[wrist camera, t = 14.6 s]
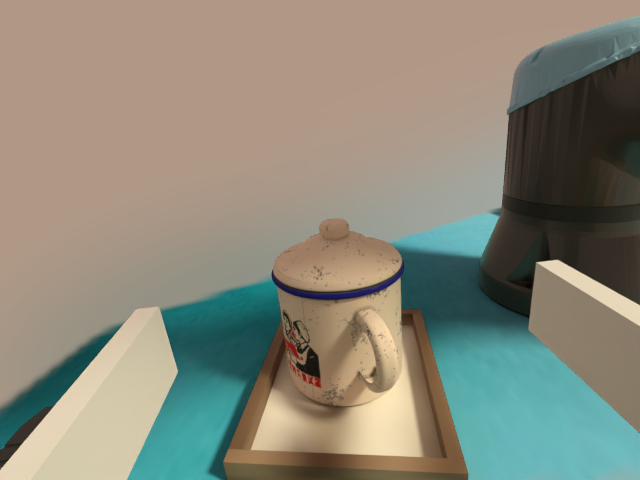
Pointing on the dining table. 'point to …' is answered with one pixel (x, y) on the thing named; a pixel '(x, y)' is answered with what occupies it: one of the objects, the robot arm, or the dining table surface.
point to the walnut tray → (349, 425)
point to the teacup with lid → (341, 315)
